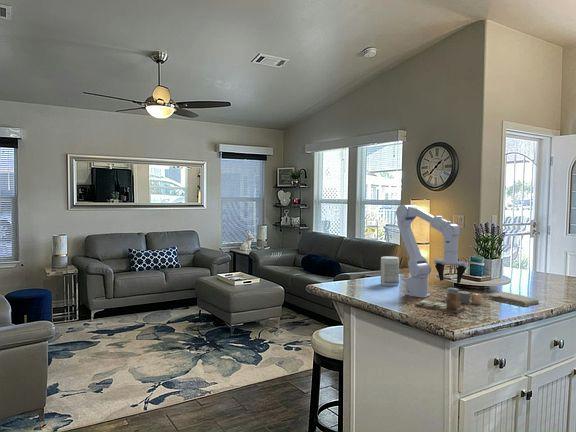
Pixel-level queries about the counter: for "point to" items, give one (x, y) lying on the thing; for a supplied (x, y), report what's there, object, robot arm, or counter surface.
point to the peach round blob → (476, 298)
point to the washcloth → (513, 299)
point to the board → (438, 306)
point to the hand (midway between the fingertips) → (450, 281)
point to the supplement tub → (390, 271)
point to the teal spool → (452, 289)
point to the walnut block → (454, 300)
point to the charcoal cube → (464, 297)
